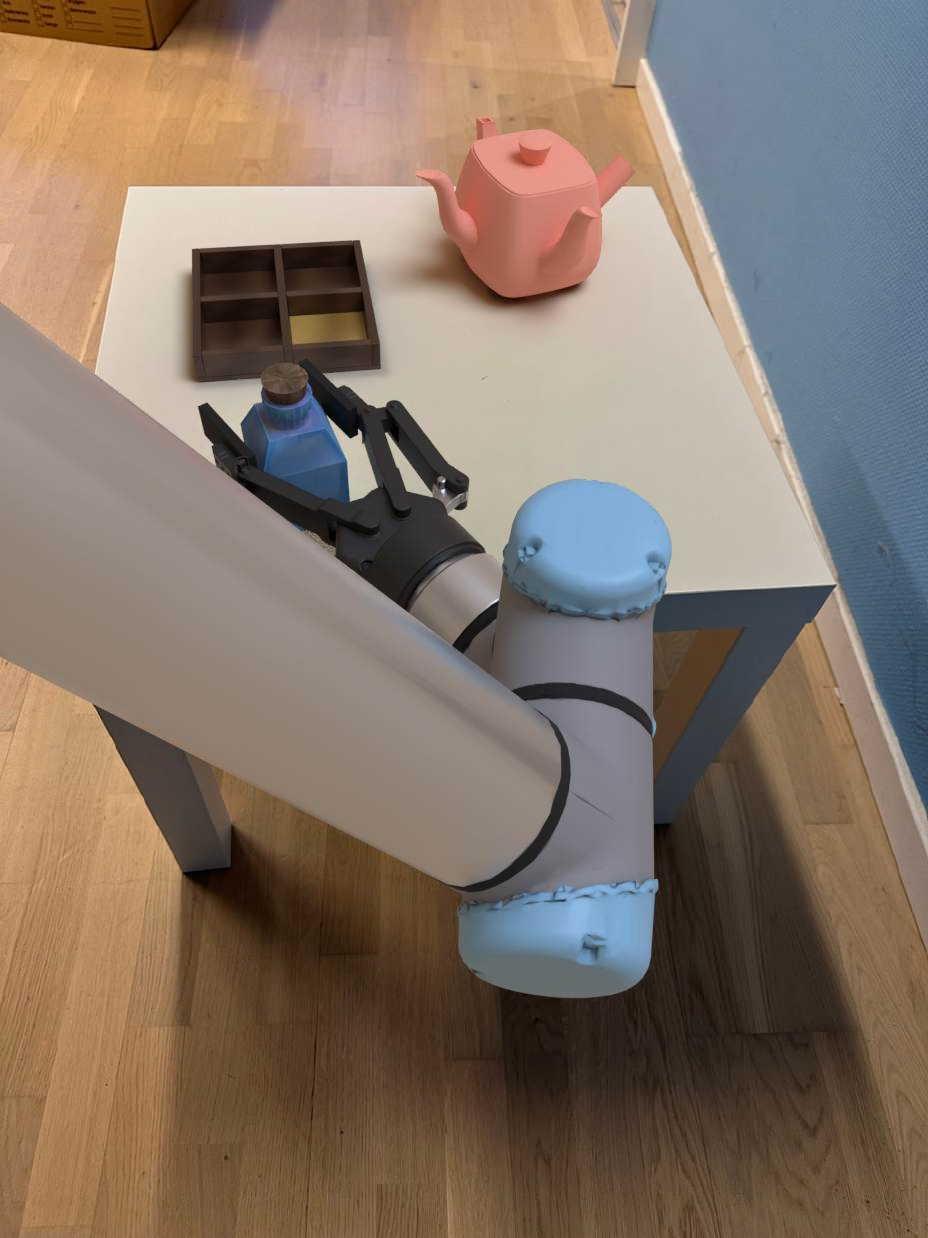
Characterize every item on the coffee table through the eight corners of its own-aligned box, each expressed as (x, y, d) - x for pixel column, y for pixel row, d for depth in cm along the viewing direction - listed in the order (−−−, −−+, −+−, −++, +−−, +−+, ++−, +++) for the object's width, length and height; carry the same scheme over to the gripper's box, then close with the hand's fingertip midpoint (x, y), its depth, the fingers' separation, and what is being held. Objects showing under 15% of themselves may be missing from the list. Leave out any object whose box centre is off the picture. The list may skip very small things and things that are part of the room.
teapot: (578, 336, 92) (602, 208, 81) (412, 291, 95) (413, 161, 84) (622, 244, 102) (649, 119, 91) (471, 206, 105) (478, 80, 94)
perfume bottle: (351, 518, 69) (342, 397, 59) (272, 539, 67) (250, 418, 58) (327, 464, 72) (315, 341, 63) (251, 482, 71) (227, 359, 61)
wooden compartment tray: (198, 382, 85) (192, 356, 82) (197, 274, 95) (191, 248, 92) (380, 368, 87) (380, 343, 85) (361, 264, 97) (360, 239, 95)
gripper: (314, 708, 56) (140, 490, 65) (557, 557, 64) (371, 383, 73) (303, 641, 49) (113, 411, 59) (574, 483, 58) (368, 304, 67)
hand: (256, 396), depth 66 cm, fingers closed on perfume bottle, 8 cm apart
